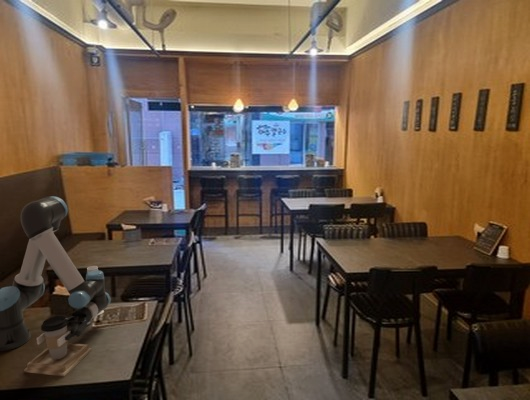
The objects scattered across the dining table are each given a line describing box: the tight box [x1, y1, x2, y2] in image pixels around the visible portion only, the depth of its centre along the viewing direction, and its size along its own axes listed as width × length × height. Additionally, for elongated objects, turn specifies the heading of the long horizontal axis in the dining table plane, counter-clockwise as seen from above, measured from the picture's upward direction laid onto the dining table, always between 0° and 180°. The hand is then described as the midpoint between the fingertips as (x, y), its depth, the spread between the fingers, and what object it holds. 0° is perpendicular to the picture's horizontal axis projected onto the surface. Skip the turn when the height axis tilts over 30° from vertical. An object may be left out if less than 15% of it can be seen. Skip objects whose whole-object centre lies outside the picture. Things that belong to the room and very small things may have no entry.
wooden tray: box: [23, 342, 93, 377], centre depth 151 cm, size 17×17×3 cm
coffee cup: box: [40, 315, 69, 359], centre depth 150 cm, size 9×9×15 cm
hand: (47, 342), depth 145 cm, fingers closed on coffee cup, 8 cm apart
